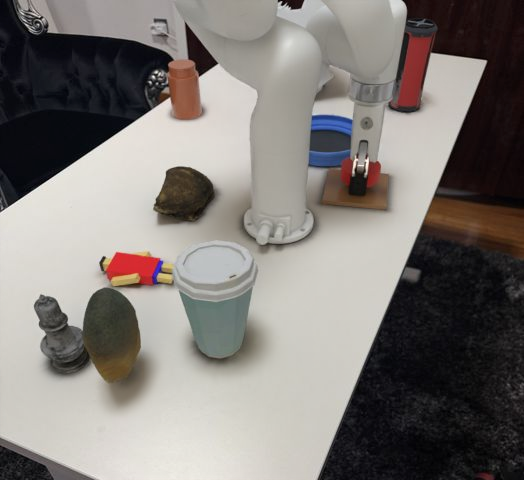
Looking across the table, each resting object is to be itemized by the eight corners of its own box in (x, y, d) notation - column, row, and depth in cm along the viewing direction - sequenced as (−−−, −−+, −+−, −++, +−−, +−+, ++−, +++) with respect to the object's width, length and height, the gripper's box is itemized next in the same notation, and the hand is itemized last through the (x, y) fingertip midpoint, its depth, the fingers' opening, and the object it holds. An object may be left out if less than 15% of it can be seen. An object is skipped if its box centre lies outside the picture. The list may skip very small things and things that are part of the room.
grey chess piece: (88, 373, 67) (60, 309, 58) (44, 376, 67) (9, 312, 58) (95, 341, 71) (69, 277, 62) (53, 344, 71) (22, 280, 62)
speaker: (413, 115, 119) (431, 29, 105) (383, 108, 121) (397, 24, 108) (424, 103, 123) (443, 20, 109) (395, 97, 126) (410, 14, 112)
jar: (197, 120, 118) (192, 70, 110) (168, 118, 119) (161, 68, 111) (205, 108, 123) (200, 59, 114) (177, 105, 124) (171, 57, 115)
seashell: (180, 177, 100) (183, 145, 94) (221, 193, 99) (226, 163, 94) (141, 220, 90) (142, 187, 84) (186, 239, 89) (190, 207, 84)
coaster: (385, 210, 92) (386, 206, 92) (321, 203, 94) (322, 200, 93) (387, 177, 100) (388, 173, 99) (328, 171, 102) (328, 168, 101)
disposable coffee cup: (171, 335, 71) (153, 251, 60) (233, 305, 75) (227, 221, 64) (208, 382, 66) (196, 299, 54) (274, 347, 70) (275, 263, 58)
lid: (341, 165, 98) (343, 153, 96) (379, 168, 97) (382, 156, 95) (338, 186, 93) (339, 173, 91) (378, 189, 92) (380, 177, 90)
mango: (117, 349, 70) (88, 266, 58) (159, 354, 69) (137, 271, 58) (90, 405, 63) (52, 324, 52) (135, 411, 63) (106, 330, 51)
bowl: (328, 122, 117) (329, 107, 114) (383, 151, 107) (386, 135, 104) (266, 144, 110) (266, 128, 107) (319, 178, 100) (321, 161, 97)
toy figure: (179, 255, 81) (108, 245, 81) (167, 282, 76) (92, 271, 77) (180, 267, 83) (111, 257, 83) (169, 294, 78) (96, 283, 79)
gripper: (392, 111, 77) (375, 210, 90) (395, 68, 88) (379, 162, 101) (344, 108, 78) (334, 206, 91) (352, 66, 89) (342, 159, 102)
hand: (358, 182), depth 96 cm, fingers closed on lid, 7 cm apart
